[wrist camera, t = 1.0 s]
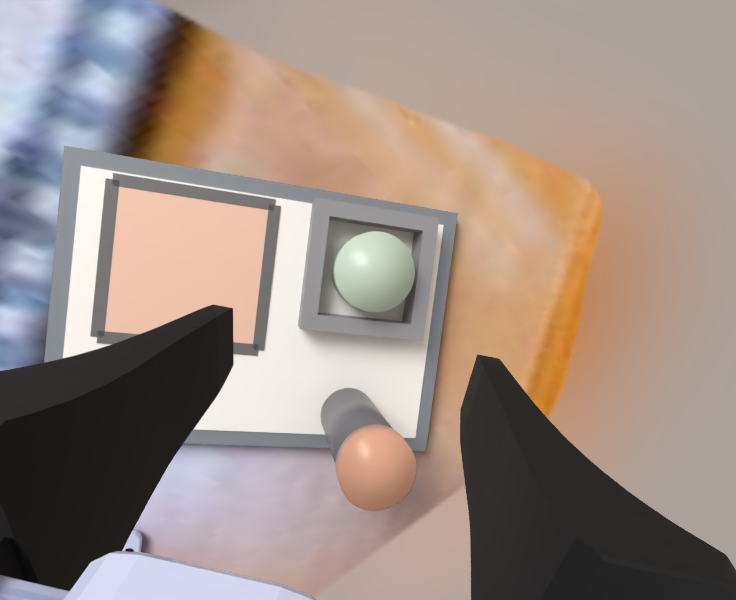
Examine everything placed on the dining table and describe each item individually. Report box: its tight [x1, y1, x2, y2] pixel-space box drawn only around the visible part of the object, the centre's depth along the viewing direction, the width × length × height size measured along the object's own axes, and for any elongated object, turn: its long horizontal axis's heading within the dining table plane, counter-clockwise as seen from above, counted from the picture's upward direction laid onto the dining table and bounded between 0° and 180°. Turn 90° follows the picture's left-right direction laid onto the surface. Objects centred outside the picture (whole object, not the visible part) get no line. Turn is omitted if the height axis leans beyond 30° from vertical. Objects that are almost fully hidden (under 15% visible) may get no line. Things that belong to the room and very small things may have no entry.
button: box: [331, 231, 415, 312], centre depth 22 cm, size 4×4×2 cm
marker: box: [320, 388, 417, 511], centre depth 21 cm, size 3×3×7 cm
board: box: [44, 146, 458, 451], centre depth 23 cm, size 14×20×2 cm
